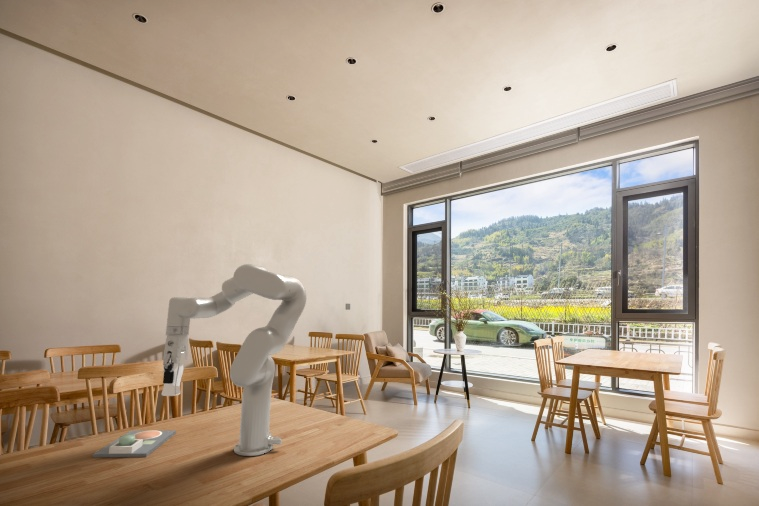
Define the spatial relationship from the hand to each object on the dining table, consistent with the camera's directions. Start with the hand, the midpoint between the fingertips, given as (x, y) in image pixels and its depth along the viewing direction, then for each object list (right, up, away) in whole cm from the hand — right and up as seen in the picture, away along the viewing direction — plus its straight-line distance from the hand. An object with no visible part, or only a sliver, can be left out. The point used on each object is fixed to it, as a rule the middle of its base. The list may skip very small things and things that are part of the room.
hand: (172, 380), depth 142 cm
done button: (-7, -15, -15) cm, 23 cm away
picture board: (-8, -19, -8) cm, 22 cm away
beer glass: (0, -5, -1) cm, 5 cm away
